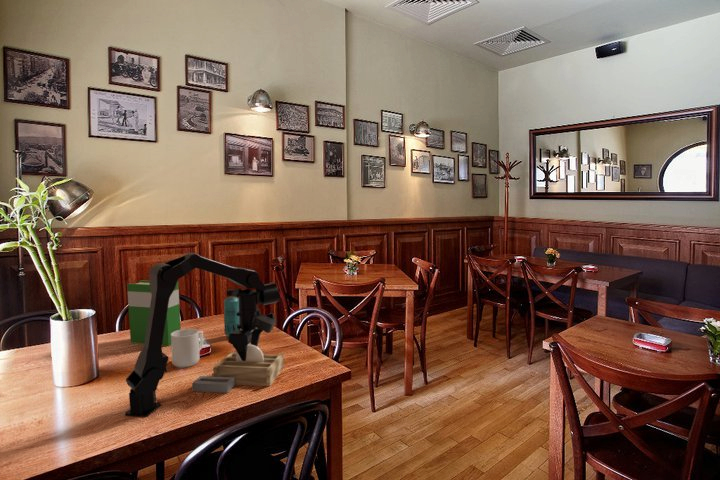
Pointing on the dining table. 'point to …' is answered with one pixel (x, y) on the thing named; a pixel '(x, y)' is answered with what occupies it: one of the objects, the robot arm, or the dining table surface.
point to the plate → (252, 354)
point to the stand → (213, 384)
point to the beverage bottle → (231, 312)
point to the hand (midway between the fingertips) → (249, 355)
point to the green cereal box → (140, 312)
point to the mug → (186, 347)
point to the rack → (250, 369)
